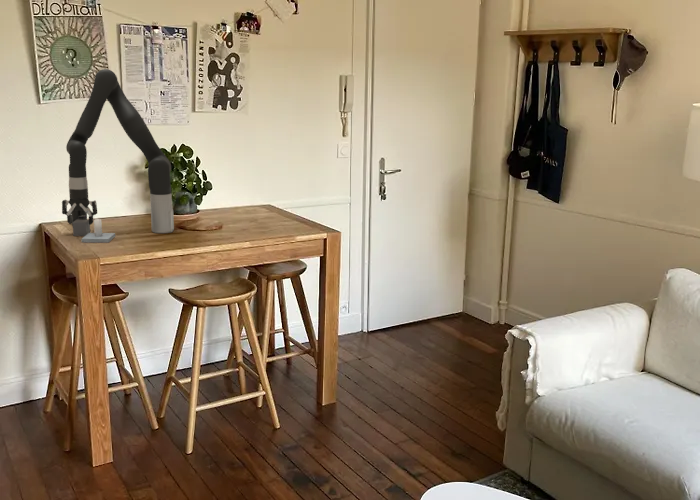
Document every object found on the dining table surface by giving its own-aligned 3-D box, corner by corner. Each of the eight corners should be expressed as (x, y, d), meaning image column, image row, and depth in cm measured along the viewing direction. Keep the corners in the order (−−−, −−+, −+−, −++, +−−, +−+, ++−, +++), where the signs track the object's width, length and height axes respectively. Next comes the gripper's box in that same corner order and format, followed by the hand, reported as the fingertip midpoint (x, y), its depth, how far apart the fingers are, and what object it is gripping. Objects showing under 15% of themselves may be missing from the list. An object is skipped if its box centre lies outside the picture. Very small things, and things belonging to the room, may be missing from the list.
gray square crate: (90, 233, 310) (89, 219, 309) (86, 236, 305) (85, 222, 303) (77, 232, 310) (76, 219, 308) (73, 235, 305) (72, 222, 303)
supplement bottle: (82, 226, 322) (80, 200, 319) (68, 225, 324) (66, 199, 321) (90, 223, 329) (88, 198, 326) (77, 222, 330) (75, 197, 327)
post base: (115, 236, 306) (114, 217, 303) (108, 242, 295) (107, 222, 293) (89, 236, 305) (88, 216, 303) (81, 242, 294) (80, 222, 292)
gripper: (97, 186, 307) (99, 222, 311) (64, 185, 306) (66, 221, 310) (92, 189, 299) (94, 226, 303) (58, 188, 298) (60, 225, 303)
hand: (80, 224), depth 307 cm, fingers open, 8 cm apart
